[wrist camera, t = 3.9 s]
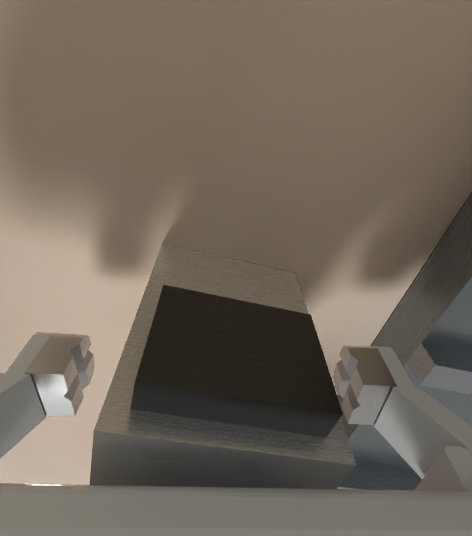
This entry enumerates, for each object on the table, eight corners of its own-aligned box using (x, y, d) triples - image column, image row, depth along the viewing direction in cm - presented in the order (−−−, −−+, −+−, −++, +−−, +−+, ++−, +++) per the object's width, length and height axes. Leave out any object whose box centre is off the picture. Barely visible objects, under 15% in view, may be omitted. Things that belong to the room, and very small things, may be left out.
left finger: (263, 347, 14) (287, 546, 9) (147, 326, 14) (86, 528, 8) (303, 254, 12) (375, 442, 6) (165, 222, 11) (96, 401, 5)
